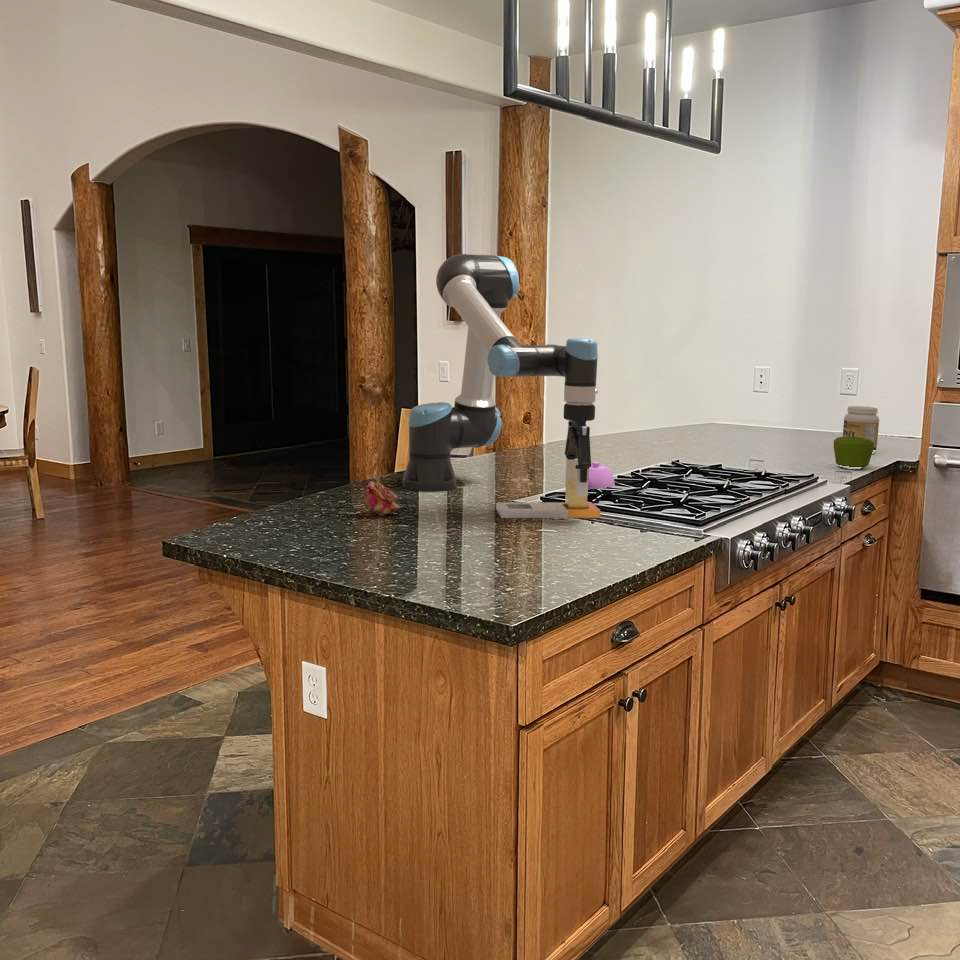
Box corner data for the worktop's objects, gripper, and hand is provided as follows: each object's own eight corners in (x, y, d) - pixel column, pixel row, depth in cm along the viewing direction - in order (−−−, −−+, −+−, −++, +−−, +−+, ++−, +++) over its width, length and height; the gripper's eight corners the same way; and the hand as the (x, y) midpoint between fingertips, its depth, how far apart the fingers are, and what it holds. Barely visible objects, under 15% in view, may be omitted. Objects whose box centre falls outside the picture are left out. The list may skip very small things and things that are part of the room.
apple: (879, 470, 320) (882, 436, 318) (850, 472, 316) (853, 437, 314) (852, 464, 332) (855, 431, 330) (823, 466, 327) (826, 432, 325)
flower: (357, 512, 230) (377, 485, 229) (351, 497, 238) (371, 471, 237) (389, 532, 234) (409, 506, 233) (383, 516, 242) (402, 491, 241)
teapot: (620, 494, 269) (622, 460, 268) (601, 502, 256) (602, 467, 255) (585, 490, 274) (587, 457, 273) (564, 498, 261) (566, 464, 259)
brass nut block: (568, 515, 236) (569, 482, 235) (564, 511, 241) (566, 479, 239) (586, 515, 237) (587, 482, 235) (582, 511, 241) (584, 479, 240)
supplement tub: (834, 451, 366) (837, 405, 363) (861, 450, 370) (865, 405, 367) (855, 455, 355) (859, 409, 352) (883, 454, 358) (887, 408, 355)
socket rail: (501, 520, 232) (501, 510, 231) (496, 511, 242) (496, 502, 241) (600, 520, 234) (600, 510, 234) (591, 511, 244) (591, 502, 244)
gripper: (606, 408, 222) (602, 500, 226) (584, 398, 247) (581, 481, 250) (574, 408, 221) (570, 500, 225) (555, 398, 246) (552, 481, 250)
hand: (576, 490), depth 238 cm, fingers open, 13 cm apart
